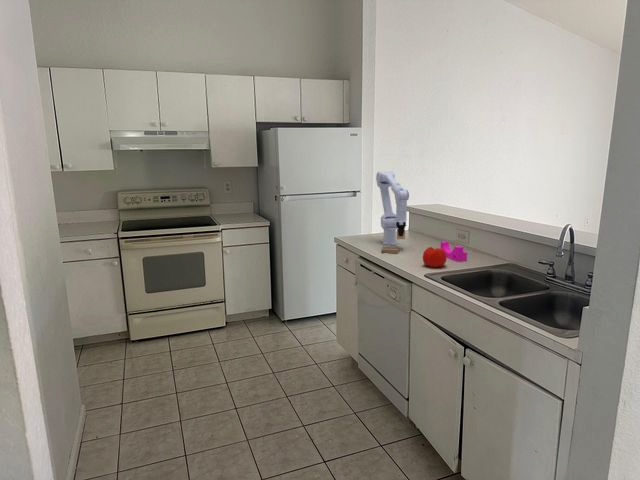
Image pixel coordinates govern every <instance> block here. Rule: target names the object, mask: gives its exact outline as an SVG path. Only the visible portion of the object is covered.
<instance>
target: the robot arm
mask: <svg viewBox="0 0 640 480" xmlns="http://www.w3.org/2000/svg"><path fill="white" fill-rule="evenodd" d="M375 176H376V177H375V179H376V180H375V181H376V184H377V187H378V188H379V190H380V197H381V203H382V207H383V214H382V216H381V217H380V227H381V228H382V230H383V241H382V246H397V229H398V234H399V236H403V233H404V229H405V230H406V226H407V224H406V223H407V207H408V204H407V203H408V200H409V199H410V194H409V193H410V192H409V190H408V189H404V187H403V186H402V185H401V184H400V183H399V182H397V180H396V178H395V173H394V171H393V170H392V171H391V170H390V171H377V172H376V175H375ZM389 188H390V189H391V192H392V193H393V194H394V200H395V204H396V208H395V209H396V210H395V212H396V213H394V212H393V207H392V200H391V196H390V190H389Z"/></svg>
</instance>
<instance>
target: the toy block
mask: <svg viewBox="0 0 640 480" xmlns="http://www.w3.org/2000/svg"><path fill="white" fill-rule="evenodd" d="M440 249H442V250H444V251H445V252H446V257H447V259H449V260H451V261H454V262H467V261H468V252H467V251H464V246H461V245H458V246H457V245H455V246H453V250H452V249H451V246H450V242H448V241H440Z"/></svg>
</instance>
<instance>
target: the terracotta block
mask: <svg viewBox="0 0 640 480" xmlns="http://www.w3.org/2000/svg"><path fill="white" fill-rule="evenodd" d="M396 240H406V228H405V229H404V233H403V236H399V234H398V228H397V229H396Z"/></svg>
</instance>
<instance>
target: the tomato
mask: <svg viewBox="0 0 640 480" xmlns="http://www.w3.org/2000/svg"><path fill="white" fill-rule="evenodd" d="M447 259H448V258H447V257H446V252H445V251H444V250H442V249H440V248H439V247H436V248H434V247H432V246H428V247H427V248H425V250H424V252H423V255H422V262H423V264H424V265H426V266H428V267H431V268H434V269H435V268H438V267H440V268H441V267H444V266H445V264H446V263H447Z"/></svg>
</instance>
